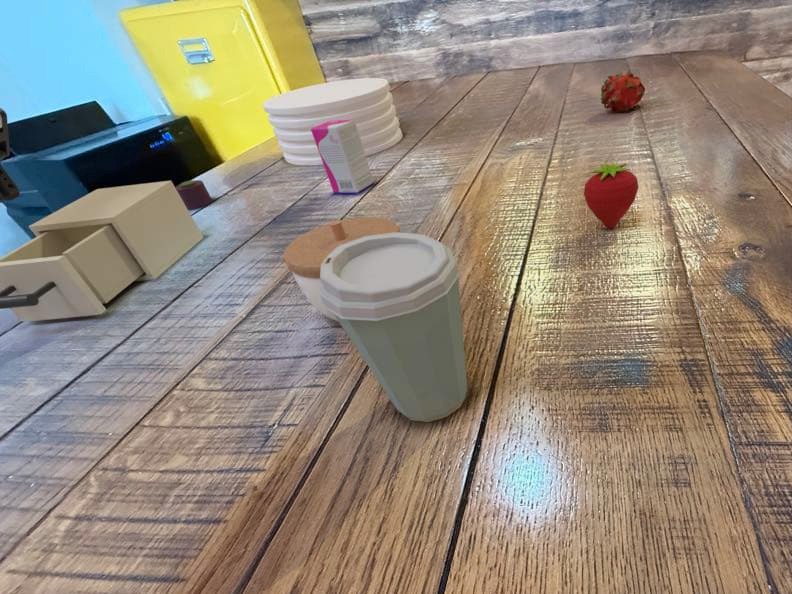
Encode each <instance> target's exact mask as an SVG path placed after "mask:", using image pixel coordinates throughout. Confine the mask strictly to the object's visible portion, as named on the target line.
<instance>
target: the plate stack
mask: <svg viewBox="0 0 792 594" xmlns="http://www.w3.org/2000/svg"><path fill="white" fill-rule="evenodd" d="M390 89H391V85H390V83H389V80H388V79H387V78H386V79H385V78H382V77H361V78H351V79H350V78H349V79H341V80H335V81H329V82H328V81H327V82H324V83H318V84H313V85H308V86H304V87H301V88H297V89H296V88H295V89H292V90H288V91H286V92H283V93H280V94H277V95H274V96H272V97H270V98H268V99H266V100H265V101H263V102H262V107H263V110H264V112H265V113H266V114H268V116H267V119H268V122H269V124H270V126H272V127H273V129H272V132H273V134H274V136H275V138H276V139H278V140H277V143H278V146H279V148H280V150H281V151H283V152H282V156H283V158H284V161H285V162H286V163H288V164H290V165H294V166H295V165H296V166H324V164H323V162H322V159H321V156H320V153H319V150H318V148H317V145H316V142H315V140H314V137H313V134H312V131H311V128H314V127H316V126H319V125H321V124H324V123H326V122H328V121H338V120H355V123H356V126H357V129H358V132H359V136H360V139H361V142H362V145H363V148H364V152H365V155H366V157H367V156H368V157H369V156H371V155H374V154H377V153H380V152H382V151H385V150H387V149H389V148H391V147H393V146H395V145H396V144H398V143H399V142H400V141H401V140H402V139H403V132H402V129H401V128H400V121H399V117H398V116H396V115H397V109H396V106H395V105H394V104H393V102H394V98H393V94H392V92H391V91H389V90H390Z"/></svg>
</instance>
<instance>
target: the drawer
mask: <svg viewBox="0 0 792 594" xmlns="http://www.w3.org/2000/svg"><path fill="white" fill-rule="evenodd" d="M143 273H144V270H143V269H142V267H141V266H140V264H139V263H138V261H137V260H136V258H135V257H134V255H133V254H132V253H131V251H130V250H129V248H128V247H127V245H126V244H125V242H124V241H123V239H122V238H121V236H120V235H119V234H118V232H117V231H116V229H115V228H114V226H113V225H112V223H109V224H100V225H91V226H82V227H73V228H64V229H55V230H48V231H46V232H44V233H43V234H41V235H39V236H37V237H36V236H35V237H34V238H32V239H30V240H29V241H26V242H25V243H23V244H21V245H20V246H18V247H17V248H15V249H13V250H11V251H9V252H8V253H6V254H4V255H2V256H1V257H0V310H2V309H3V310H5V309H9V310H10V311H11V312H12V314H14V315H15V316H16V318H18V319H19V320H20V321H21V323H27V322H36V321H38V322H39V321H49V320H57V319H69V318H79V317H89V316H90V317H91V316H100V315H102V314H103V313H104V312H106V311H107V308H106V307H105V306H104V305H103V304H108V303H109V302H111V300H112V299H114V298H115V297H116V296H117V295H119V294H120V293H121V292H122V291H123V290H124V289H126V288H127V287H128V286H130V285H131V284H132V283H133V282H135V281H134V280H136V279H137V278H138V277H139V276H141V275H142V274H143Z"/></svg>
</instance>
